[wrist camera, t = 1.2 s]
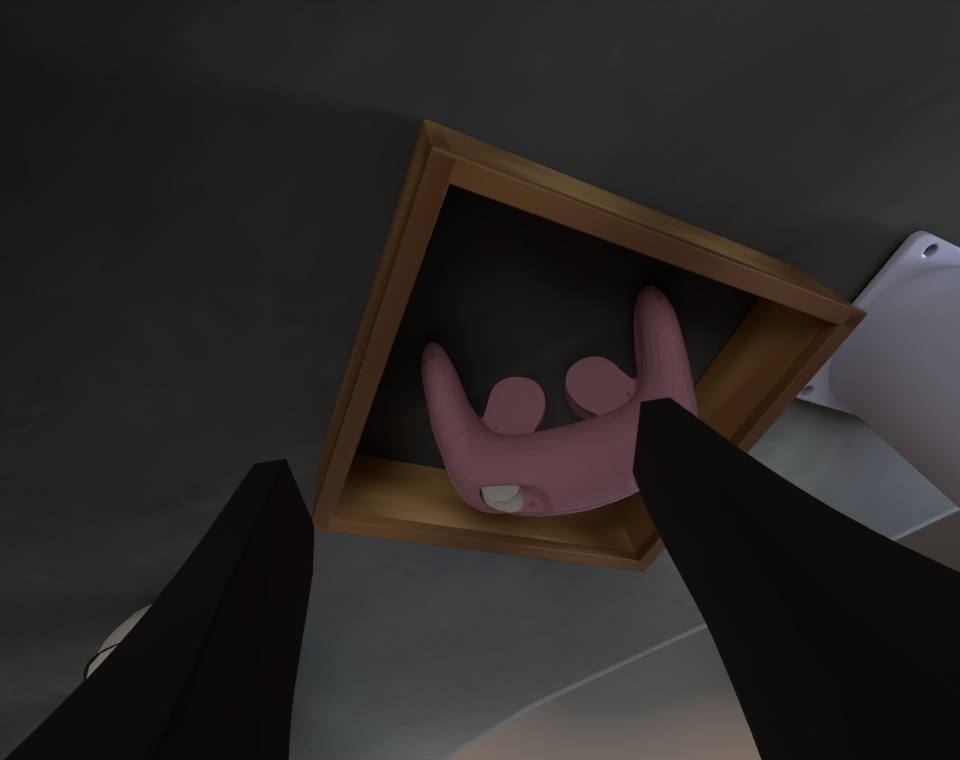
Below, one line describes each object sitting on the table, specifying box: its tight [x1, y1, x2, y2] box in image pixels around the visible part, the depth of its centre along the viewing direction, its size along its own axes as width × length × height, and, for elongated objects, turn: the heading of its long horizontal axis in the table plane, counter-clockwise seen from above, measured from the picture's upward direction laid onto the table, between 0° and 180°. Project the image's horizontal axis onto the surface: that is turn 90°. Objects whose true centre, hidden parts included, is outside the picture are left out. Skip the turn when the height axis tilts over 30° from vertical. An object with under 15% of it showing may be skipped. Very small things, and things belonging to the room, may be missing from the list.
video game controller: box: [421, 286, 698, 516], centre depth 20 cm, size 10×5×7 cm, turn 102°
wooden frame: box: [311, 119, 867, 572], centre depth 20 cm, size 15×14×4 cm
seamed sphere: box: [84, 604, 152, 681], centre depth 25 cm, size 10×7×7 cm
